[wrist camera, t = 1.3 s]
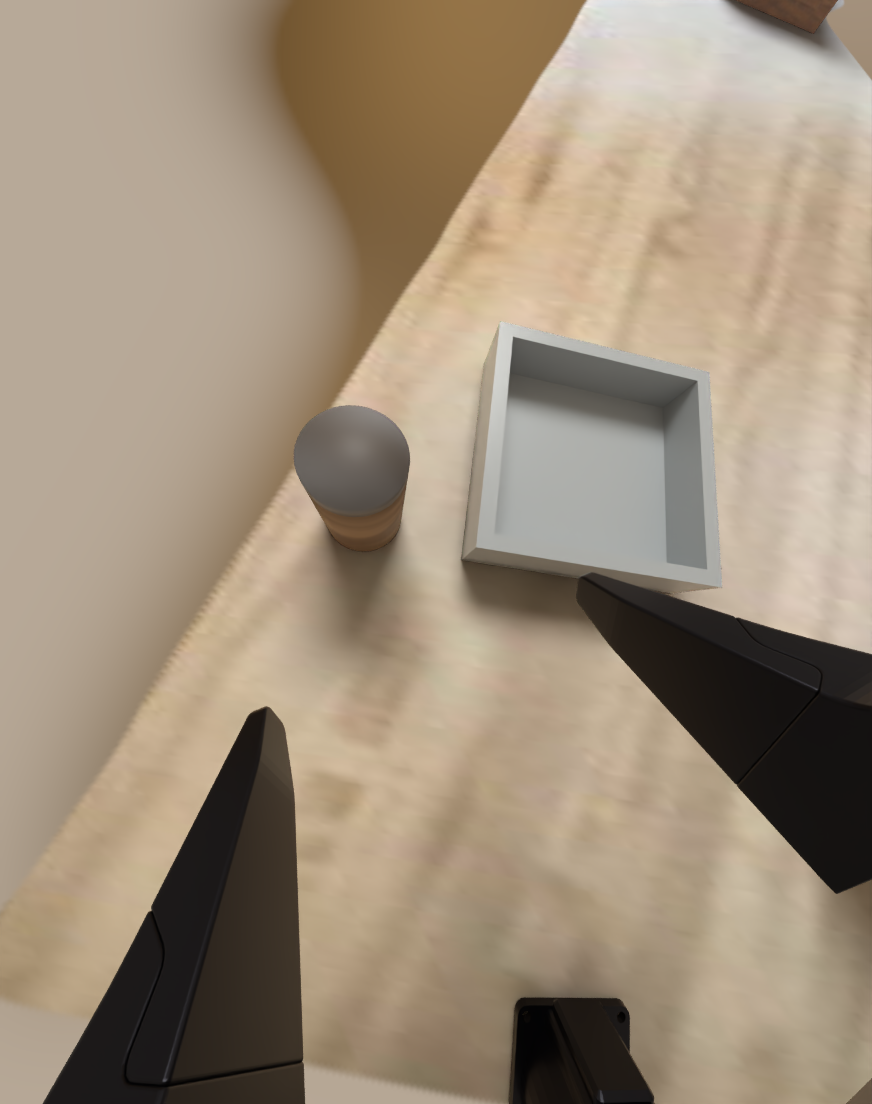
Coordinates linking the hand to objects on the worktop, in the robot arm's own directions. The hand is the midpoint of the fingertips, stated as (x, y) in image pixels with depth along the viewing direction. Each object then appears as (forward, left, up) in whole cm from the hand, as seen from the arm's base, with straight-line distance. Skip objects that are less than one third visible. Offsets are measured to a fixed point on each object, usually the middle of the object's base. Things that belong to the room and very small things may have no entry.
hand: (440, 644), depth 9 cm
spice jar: (+7, +4, -13) cm, 16 cm away
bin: (+13, -11, -13) cm, 22 cm away
